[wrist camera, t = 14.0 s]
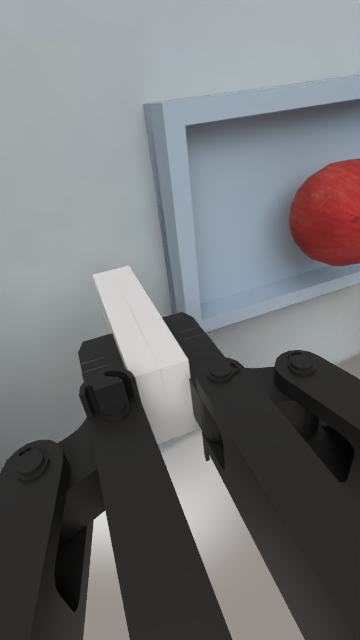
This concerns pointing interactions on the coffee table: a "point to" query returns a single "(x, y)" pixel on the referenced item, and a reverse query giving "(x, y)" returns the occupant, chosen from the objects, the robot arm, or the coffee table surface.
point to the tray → (246, 194)
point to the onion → (329, 214)
